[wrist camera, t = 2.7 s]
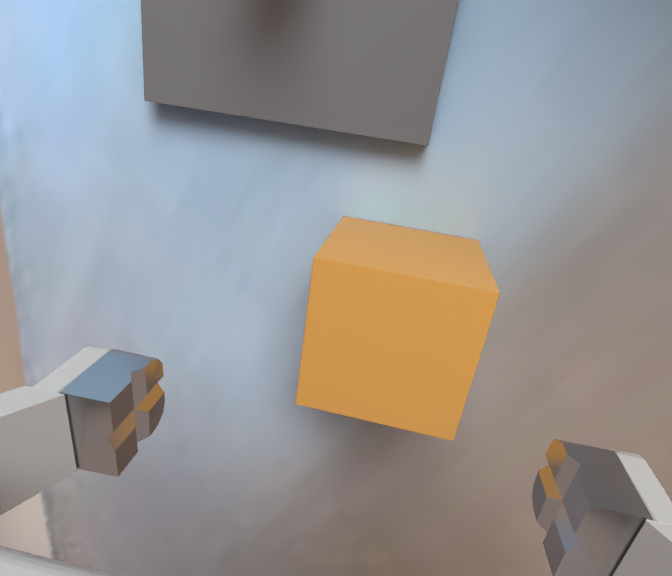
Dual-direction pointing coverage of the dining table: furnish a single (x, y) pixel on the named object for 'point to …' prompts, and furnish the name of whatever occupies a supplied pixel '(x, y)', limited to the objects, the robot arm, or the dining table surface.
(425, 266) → the orange cubic block
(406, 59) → the plate
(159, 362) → the robot arm
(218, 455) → the dining table surface
